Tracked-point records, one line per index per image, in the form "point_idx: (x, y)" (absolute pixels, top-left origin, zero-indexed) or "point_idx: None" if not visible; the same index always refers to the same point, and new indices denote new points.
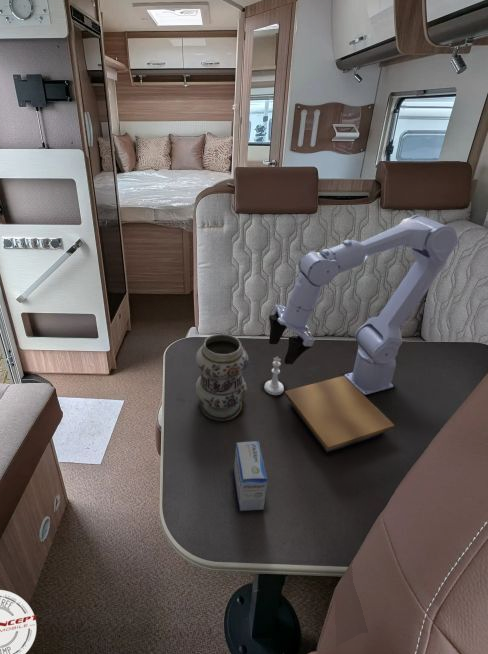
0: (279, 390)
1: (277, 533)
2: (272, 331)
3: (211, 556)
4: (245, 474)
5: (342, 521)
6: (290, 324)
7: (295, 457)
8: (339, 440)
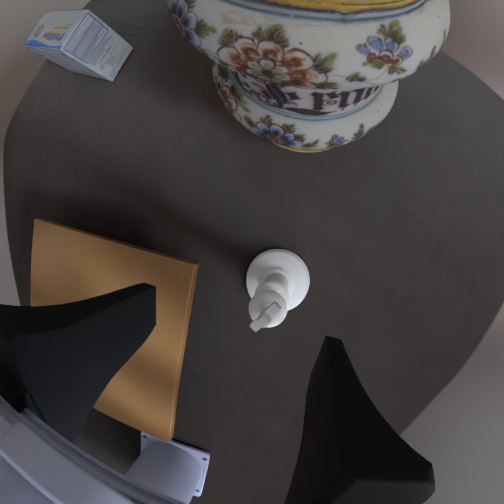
0: (249, 281)
1: (49, 79)
2: (332, 394)
3: (86, 6)
4: (46, 15)
5: (15, 168)
6: (2, 461)
7: (89, 170)
8: (34, 253)
